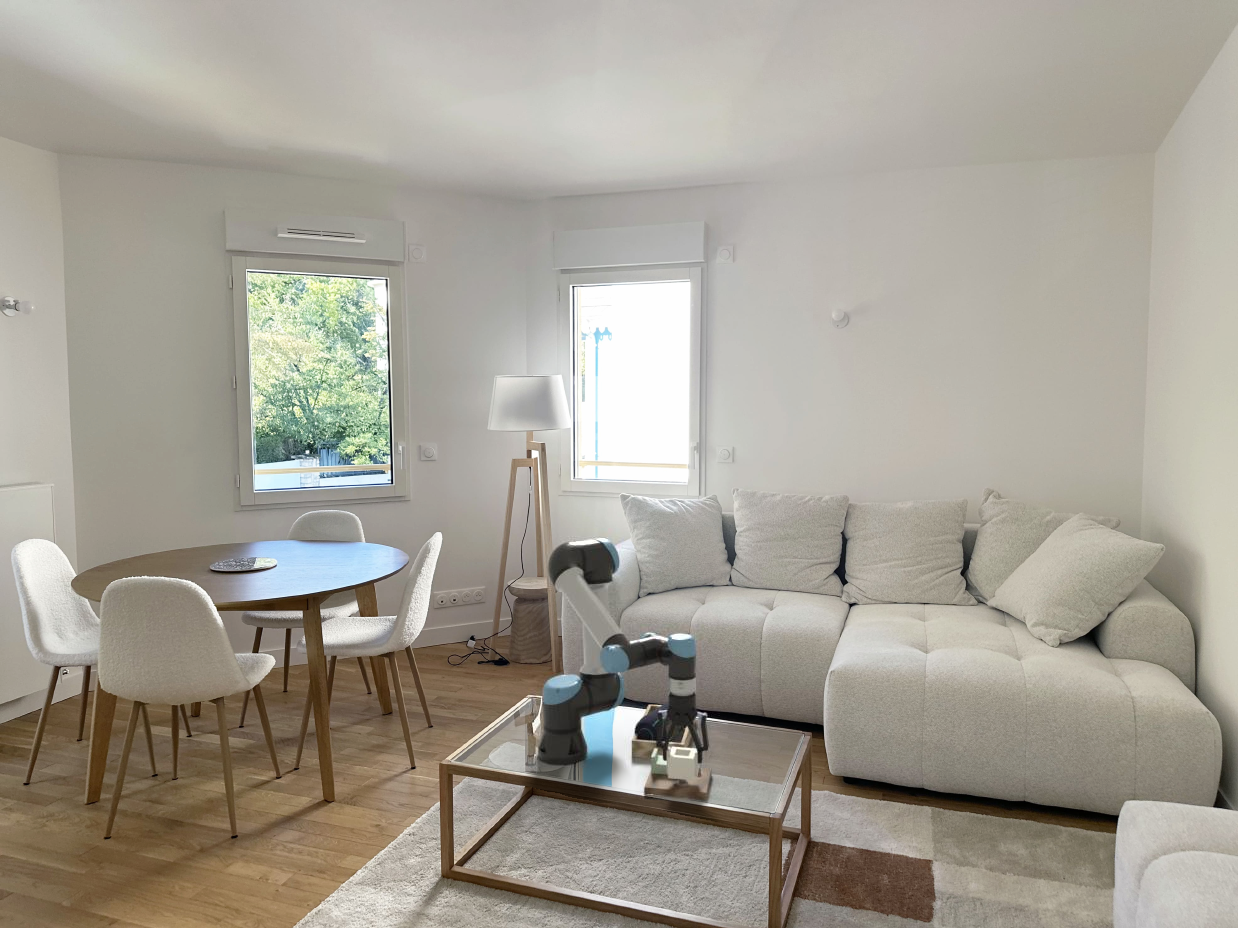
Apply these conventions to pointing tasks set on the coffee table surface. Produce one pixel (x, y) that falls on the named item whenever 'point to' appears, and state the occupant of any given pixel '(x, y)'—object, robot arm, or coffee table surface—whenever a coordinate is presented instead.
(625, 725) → the coffee table surface
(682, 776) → the sleeve
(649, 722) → the portable speaker
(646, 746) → the open wooden box
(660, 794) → the base plate
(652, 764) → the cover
